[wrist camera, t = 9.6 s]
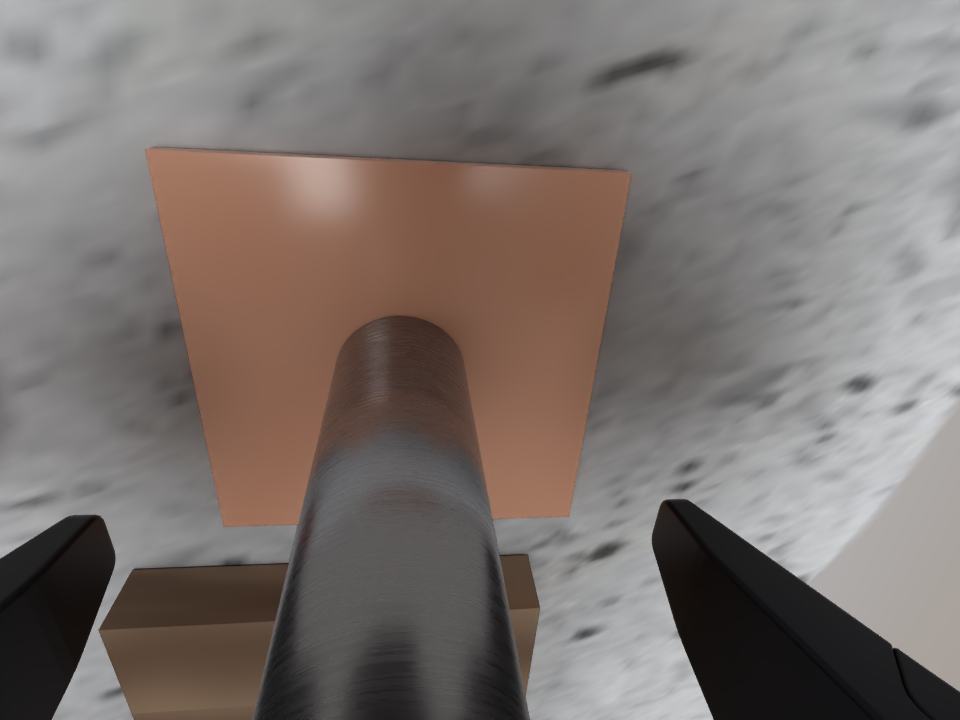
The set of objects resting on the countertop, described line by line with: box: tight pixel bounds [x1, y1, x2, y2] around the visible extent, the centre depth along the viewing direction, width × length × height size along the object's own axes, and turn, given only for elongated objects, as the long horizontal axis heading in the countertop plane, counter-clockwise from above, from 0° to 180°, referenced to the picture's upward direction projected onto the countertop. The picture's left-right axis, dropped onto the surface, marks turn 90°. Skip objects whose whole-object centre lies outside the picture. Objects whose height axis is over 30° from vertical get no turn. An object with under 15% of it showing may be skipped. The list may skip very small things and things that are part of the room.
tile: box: [145, 147, 632, 527], centre depth 14 cm, size 10×10×1 cm
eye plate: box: [99, 555, 540, 720], centre depth 19 cm, size 12×12×2 cm
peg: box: [252, 316, 530, 720], centre depth 10 cm, size 3×3×9 cm
